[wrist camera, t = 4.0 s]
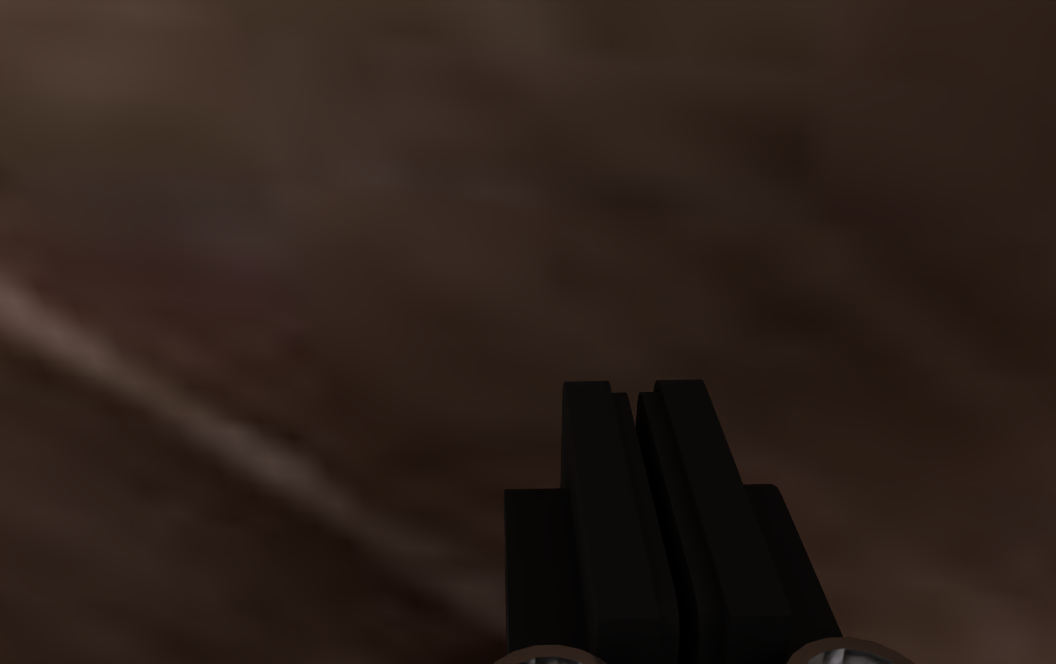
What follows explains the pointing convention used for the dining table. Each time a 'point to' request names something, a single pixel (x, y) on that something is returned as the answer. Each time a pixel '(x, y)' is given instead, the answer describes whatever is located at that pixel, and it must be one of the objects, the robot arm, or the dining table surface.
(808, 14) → the dining table surface
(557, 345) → the dining table surface
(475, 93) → the dining table surface
